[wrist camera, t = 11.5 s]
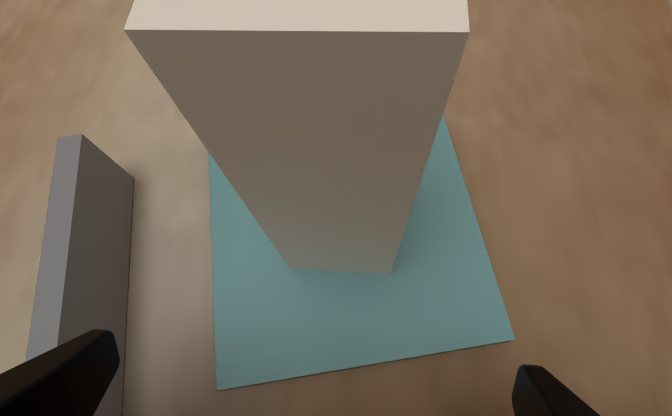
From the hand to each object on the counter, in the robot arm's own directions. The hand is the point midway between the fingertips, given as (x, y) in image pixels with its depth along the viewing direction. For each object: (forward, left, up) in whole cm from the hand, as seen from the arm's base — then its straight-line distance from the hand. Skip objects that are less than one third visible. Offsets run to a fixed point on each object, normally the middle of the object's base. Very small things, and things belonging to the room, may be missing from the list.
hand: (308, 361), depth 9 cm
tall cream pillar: (+6, -1, -7) cm, 10 cm away
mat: (+6, -1, -8) cm, 10 cm away
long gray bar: (+3, +9, -8) cm, 12 cm away
